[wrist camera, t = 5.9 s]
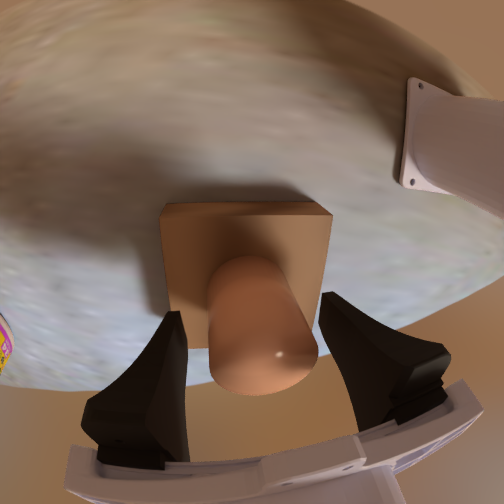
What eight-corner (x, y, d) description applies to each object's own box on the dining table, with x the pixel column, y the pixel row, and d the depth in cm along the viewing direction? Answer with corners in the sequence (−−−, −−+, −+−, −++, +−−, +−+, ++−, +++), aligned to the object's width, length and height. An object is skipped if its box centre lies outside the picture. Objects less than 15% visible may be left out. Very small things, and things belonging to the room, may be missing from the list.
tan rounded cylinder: (287, 251, 15) (324, 315, 10) (286, 317, 17) (312, 385, 12) (201, 260, 14) (200, 332, 9) (212, 326, 16) (217, 400, 11)
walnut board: (316, 202, 16) (333, 215, 14) (299, 317, 20) (309, 339, 18) (166, 203, 15) (158, 218, 13) (180, 324, 19) (178, 348, 17)
